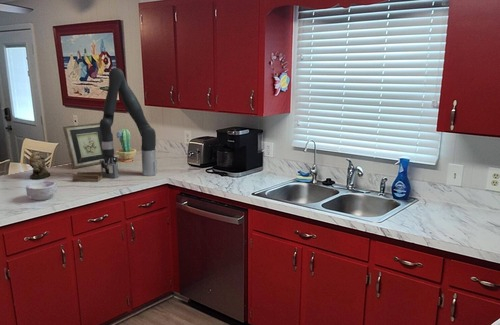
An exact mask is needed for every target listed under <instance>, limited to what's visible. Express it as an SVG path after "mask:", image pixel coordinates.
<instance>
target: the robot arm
mask: <svg viewBox="0 0 500 325" xmlns="http://www.w3.org/2000/svg"><path fill="white" fill-rule="evenodd" d="M118 96H120V99H121V100H122V104H123V106H124V107H125V109H126V111H127V112H128V114H129V116H130V117H131V118H132V120H133V122H135V125H136V127H137V129H138V132H139V134H140V137H141V145H140V146H141V147H140V148H141V167H142V168H141V169H142V170H141V172H142V176H144V177H151V176H156V175H157V174H158V166H157V159H156V146H157V144H156V143H157V139H156V138H157V137H156V130H155V129H154V128H153V127H152V126H151V125H150V123H149V122H148V120H147V119H146V116H145V114H144V110H143V108H142V106H141V103H140V102H139V99H138V97H137V96H136V94H135V93H134V92H133V90H132V89H131V86H129V84H128V82H127V79H126V77H125V74H124V72H123V70H122V69H121V68H118V67H113V68H111V69H110V70H109V72H108V88H107V93H106V96H105V100H104V104H103V109H102V110H103V111H102V112H103V116H102V118H101V119H100V121H99V123H100V130H101V134H102V155H103V159H102V160H100V166H101V165H102V168H105V173H106V174H109V169H108V168H109V163H110V164H117V162H118V157H117V156H115V144H114V135H113V133H112V127H113V124H114V120H115V119H114V118H115V117H114V116H115V111H116V108H117V107H116V106H117V100H118ZM106 163H107V164H106ZM106 165H107V167H106Z"/></svg>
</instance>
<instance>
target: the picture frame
mask: <svg viewBox="0 0 500 325" xmlns="http://www.w3.org/2000/svg"><path fill="white" fill-rule="evenodd" d="M62 130H63V134H64V138H65V139H64V140H65V142H66V146H67V151H68V155H69V159H70V160H69V161H70V164H71V168H72V169H78V168H83V167H84V168H85V167H90V166H94V165H99V164H100V165H101V163H100V160H102V159H103V155H102V134H101V130H100V122H97V123H86V124H78V125H68V126H62Z"/></svg>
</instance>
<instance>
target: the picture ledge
mask: <svg viewBox="0 0 500 325" xmlns="http://www.w3.org/2000/svg"><path fill="white" fill-rule="evenodd" d="M103 178H104V177H103V176H102V172H101V171H77V172H76V174H72V182H73V183H79V182H80V183H83V182H84V183H88V182H89V183H90V182H91V183H93V182H94V183H97V182H98V183H99V182H100V181H101V180H102V179H103Z"/></svg>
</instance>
